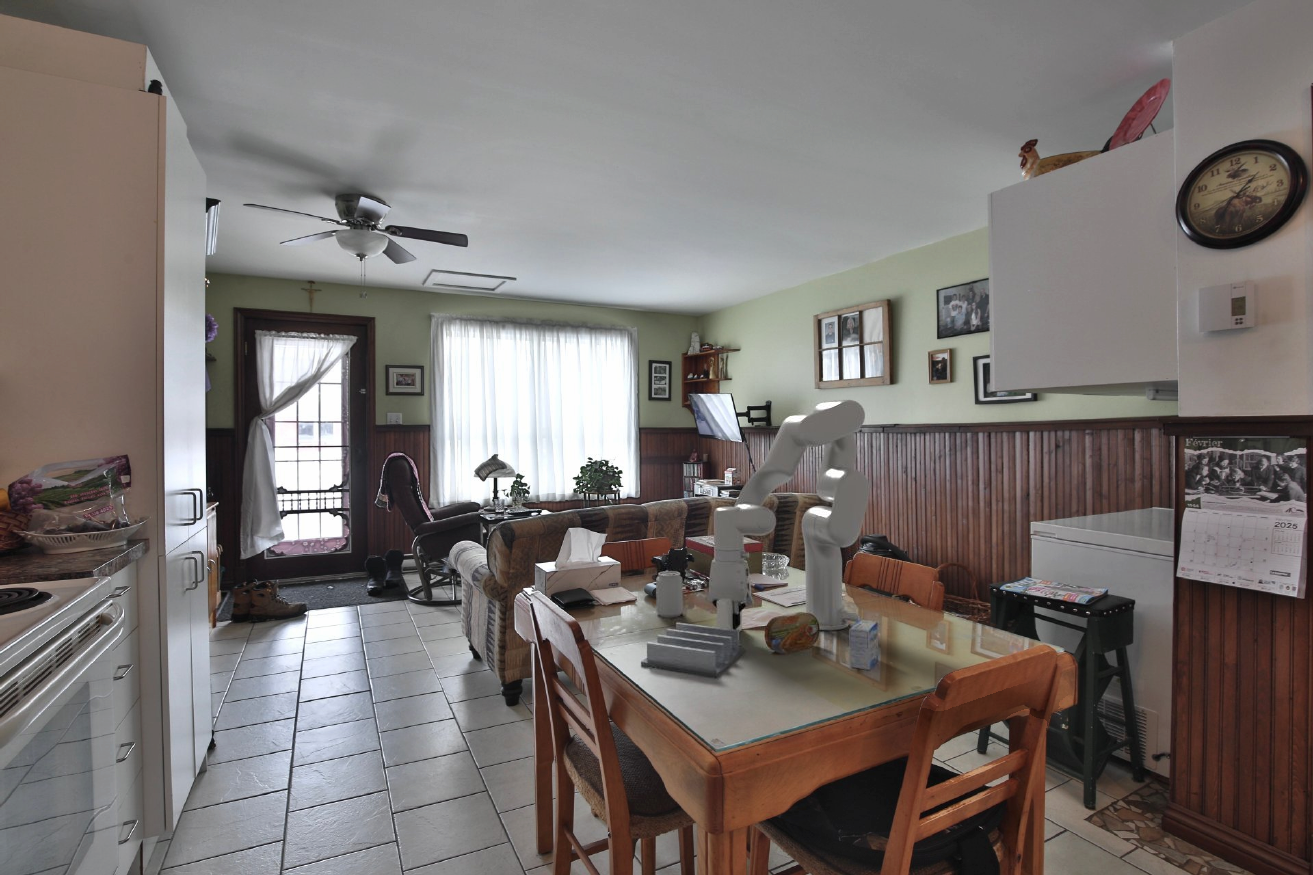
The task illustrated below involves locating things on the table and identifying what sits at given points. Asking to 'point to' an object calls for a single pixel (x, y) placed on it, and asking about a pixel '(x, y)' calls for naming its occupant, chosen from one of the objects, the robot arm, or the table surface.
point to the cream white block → (726, 614)
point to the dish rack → (694, 650)
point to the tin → (792, 632)
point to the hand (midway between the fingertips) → (729, 626)
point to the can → (669, 594)
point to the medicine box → (863, 644)
